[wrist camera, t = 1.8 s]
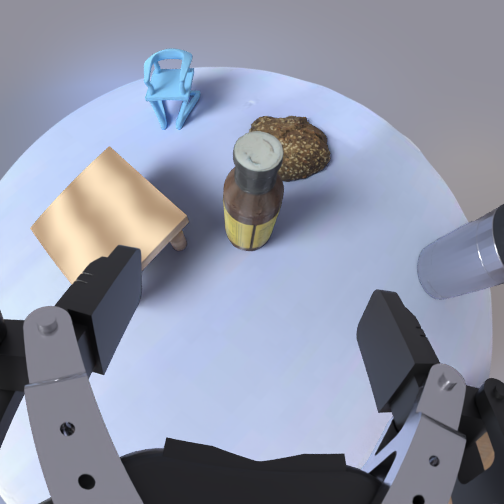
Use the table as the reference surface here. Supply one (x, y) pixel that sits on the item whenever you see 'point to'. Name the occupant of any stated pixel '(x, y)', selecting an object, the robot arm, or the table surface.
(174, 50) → the chair
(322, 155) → the bread roll
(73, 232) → the small wooden side table
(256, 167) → the sauce bottle
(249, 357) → the table surface
